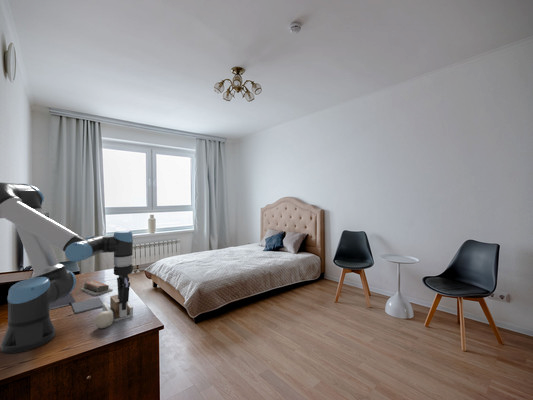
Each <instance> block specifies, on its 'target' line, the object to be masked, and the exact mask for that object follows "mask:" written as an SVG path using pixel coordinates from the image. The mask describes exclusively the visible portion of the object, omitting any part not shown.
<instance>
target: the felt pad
mask: <svg viewBox="0 0 533 400" xmlns="http://www.w3.org/2000/svg"><path fill="white" fill-rule="evenodd" d="M71 307H72V309H73V312H74V314H79V313H83V312H84V313H85V312H88V311H91V310H92V311H93V310H96V309H101V308H103V301H102V300H101V299H100V297H96V298H91V299H86V300H82V301H78V302H75V303H73V304H71Z"/></svg>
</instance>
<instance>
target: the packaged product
mask: <svg viewBox="0 0 533 400" xmlns="http://www.w3.org/2000/svg"><path fill="white" fill-rule="evenodd" d="M83 286H84V287H81V288H80V290H81V291H82V292H85V293H87V294H89V295H90V296H94V297H97V296H99V295H103V294H106V293H109V292H112V291H113V289H112V288H110V285H109V284H106V283H104V282H101V281H98V280H91V281H86V282H84V285H83Z"/></svg>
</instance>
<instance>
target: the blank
mask: <svg viewBox="0 0 533 400" xmlns="http://www.w3.org/2000/svg"><path fill="white" fill-rule="evenodd" d="M109 300H110V301H109V303H110V304H109V305H110V306H109V307H110V309H111V310H112V311H113V320H114V319H117V318H121V317H119V299H118V294H115V295H111V296H110V299H109Z"/></svg>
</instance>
